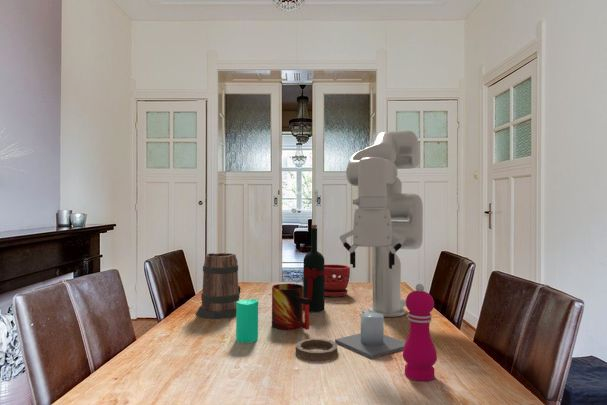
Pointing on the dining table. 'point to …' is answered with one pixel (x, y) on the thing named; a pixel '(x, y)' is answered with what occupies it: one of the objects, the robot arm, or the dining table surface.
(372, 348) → the tile
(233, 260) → the tankard
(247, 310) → the candle
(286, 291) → the mug
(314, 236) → the wine bottle
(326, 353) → the stand
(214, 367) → the dining table surface
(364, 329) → the jug
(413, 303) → the pepper mill
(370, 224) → the robot arm
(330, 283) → the plant pot
